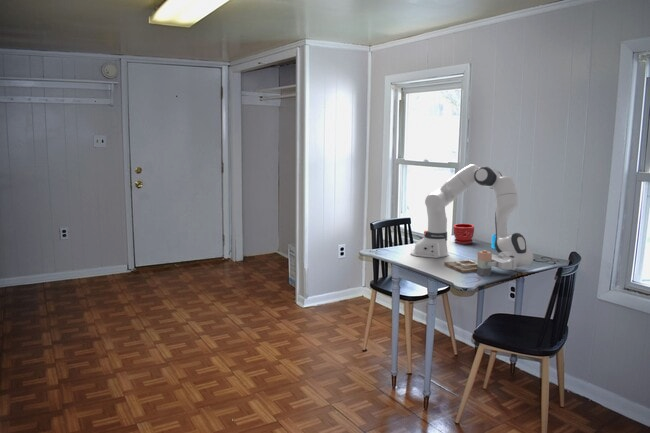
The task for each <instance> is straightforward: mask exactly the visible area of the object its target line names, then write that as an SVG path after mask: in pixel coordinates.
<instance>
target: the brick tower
mask: <svg viewBox="0 0 650 433" xmlns="http://www.w3.org/2000/svg"><path fill="white" fill-rule="evenodd" d="M492 254H493V253H492V252H490V251H489V250H488V249H487V250H486V249H483V250H480V251H477V260H476V261H477V272H476V274H477V275H478V276H481V277H487V276H491V275H492V266H487V265H486V262H492Z"/></svg>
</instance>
